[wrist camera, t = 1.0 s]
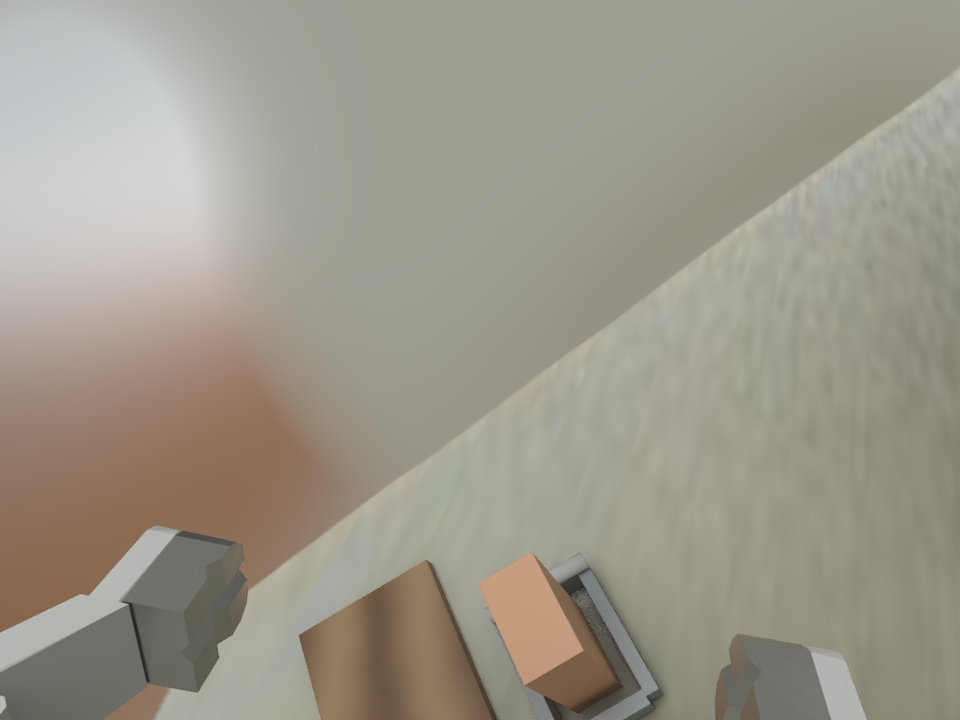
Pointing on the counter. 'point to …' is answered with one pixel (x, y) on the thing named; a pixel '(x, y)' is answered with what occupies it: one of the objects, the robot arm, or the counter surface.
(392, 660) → the pad
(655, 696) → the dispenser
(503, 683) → the counter surface
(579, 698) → the tan rectangular prism
